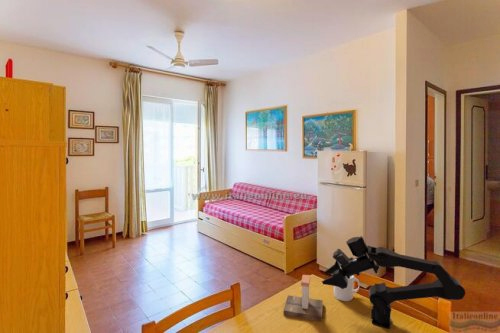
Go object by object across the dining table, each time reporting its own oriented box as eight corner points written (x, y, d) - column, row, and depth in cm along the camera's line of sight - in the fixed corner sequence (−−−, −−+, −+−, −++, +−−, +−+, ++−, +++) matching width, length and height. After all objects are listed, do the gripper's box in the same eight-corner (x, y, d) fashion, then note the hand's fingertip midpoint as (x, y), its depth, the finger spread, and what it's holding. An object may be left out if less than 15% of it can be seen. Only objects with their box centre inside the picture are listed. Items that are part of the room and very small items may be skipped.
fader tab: (309, 300, 124) (310, 275, 123) (308, 309, 117) (309, 283, 116) (302, 299, 125) (302, 274, 123) (300, 308, 118) (301, 282, 117)
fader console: (322, 304, 125) (322, 300, 125) (321, 321, 113) (321, 316, 113) (287, 299, 129) (287, 295, 129) (283, 315, 118) (283, 310, 117)
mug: (363, 301, 127) (364, 278, 126) (337, 302, 127) (338, 279, 126) (355, 290, 136) (355, 269, 135) (331, 292, 135) (331, 270, 134)
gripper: (349, 239, 123) (317, 252, 129) (347, 255, 106) (311, 269, 112) (362, 262, 122) (329, 274, 128) (362, 283, 105) (324, 295, 111)
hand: (323, 277), depth 120 cm, fingers open, 9 cm apart
